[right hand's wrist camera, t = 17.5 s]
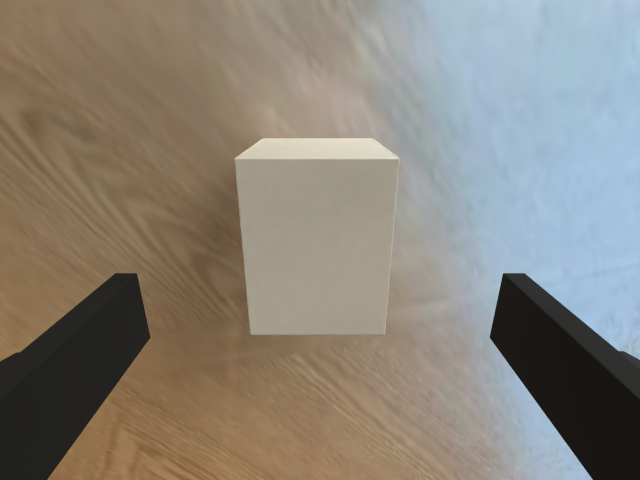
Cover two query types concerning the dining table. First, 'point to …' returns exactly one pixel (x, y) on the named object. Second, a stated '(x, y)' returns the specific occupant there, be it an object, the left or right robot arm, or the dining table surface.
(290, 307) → the block
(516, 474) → the dining table surface
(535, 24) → the dining table surface
